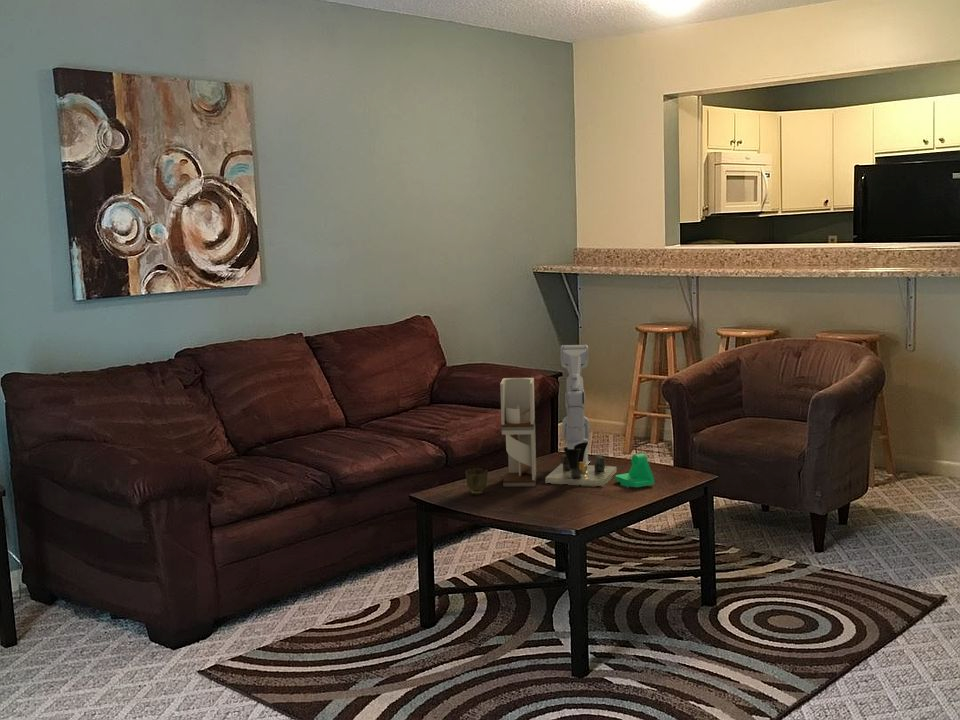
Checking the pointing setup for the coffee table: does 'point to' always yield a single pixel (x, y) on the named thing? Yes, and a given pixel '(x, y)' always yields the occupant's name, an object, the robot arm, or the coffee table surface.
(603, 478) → the base
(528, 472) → the white dispenser tower
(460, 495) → the coffee table surface
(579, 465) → the tan-ended square prism
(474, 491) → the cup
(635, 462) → the camera mount
